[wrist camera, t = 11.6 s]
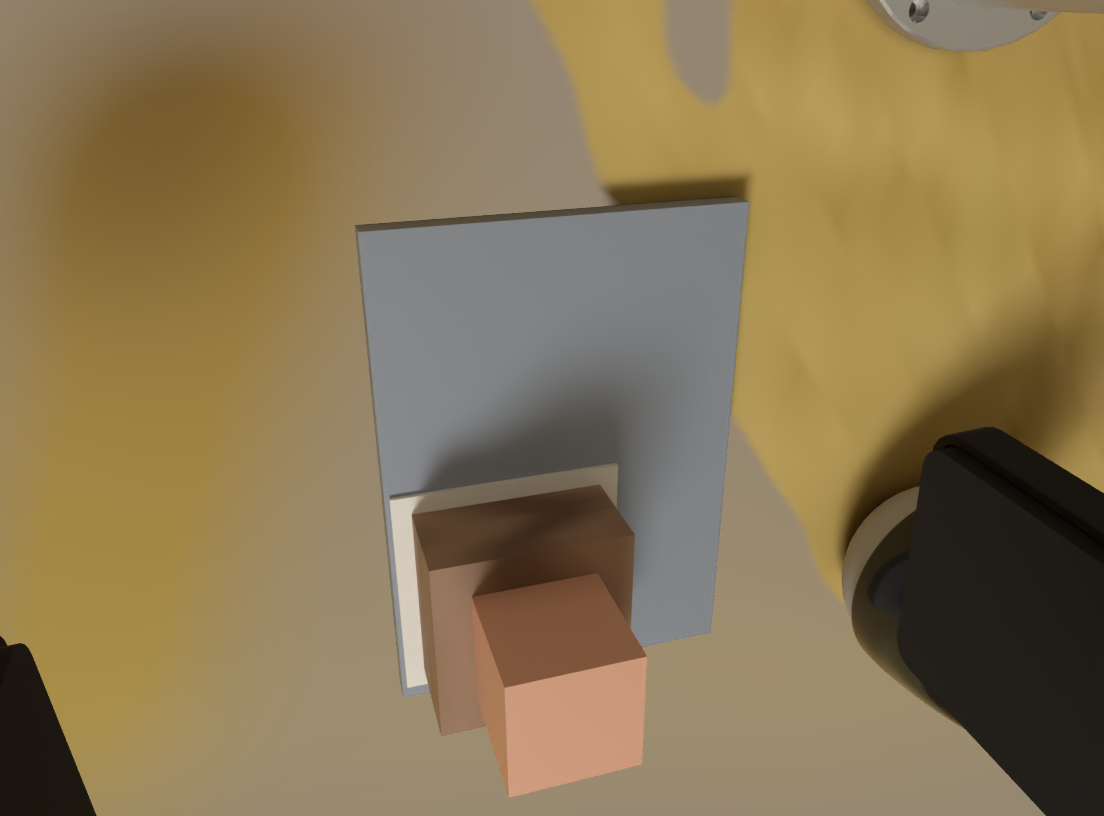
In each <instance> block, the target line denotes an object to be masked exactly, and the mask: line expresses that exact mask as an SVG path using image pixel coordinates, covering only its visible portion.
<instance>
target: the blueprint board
mask: <svg viewBox="0 0 1104 816" xmlns="http://www.w3.org/2000/svg"><path fill="white" fill-rule="evenodd" d="M748 211H749V201H746V200H744V199H742V198H740V197H723V198H710V199H697V200H684V201H670V202H657V203H644V204H631V205H617V206H604V207H591V208H578V209H565V210H552V211H538V212H525V213H512V214H498V215H485V216H473V217H459V218H446V219H432V220H419V221H405V222H392V223H379V224H366V225H355V232H356V242H357V251H358V260H359V261H358V262H359V272H360V282H361V292H362V302H363V312H364V322H365V332H366V343H367V352H368V362H369V373H370V382H371V393H372V403H373V413H374V423H375V433H376V443H377V453H378V464H379V473H380V484H381V493H382V504H383V514H384V524H385V534H386V544H387V554H388V564H389V574H390V583H391V584H390V585H391V595H392V604H393V615H394V625H395V634H396V645H397V654H398V665H399V674H400V683H401V689H402V693H403V698H406V697H410V696H415V695H420V694H425V693H429V692H430V690H429V686H428V682H427V678H426V674H425V670H424V658H423V647H422V635H421V623H420V611H419V599H418V587H417V575H416V563H415V551H414V539H413V527H412V515H413V514H419V513H425V512H432V511H438V510H444V509H450V508H456V507H463V506H469V505H475V504H481V503H488V502H494V501H500V500H506V499H512V498H519V497H525V496H531V495H537V494H544V493H550V492H556V491H562V490H568V489H575V488H581V487H587V486H593V485H601V487H602V488H603V490H604V491H605V493H606V494H607V495H608V497H609V498H610V500H611V501H612V503H613V504H614V505H615V507H616V508H617V510H618V511H619V513H620V514H621V515H622V517H623V518H624V520H625V521H626V523H627V524H628V526H629V527H630V528H631V530H632V531H633V533H634V534H635V544H634V568H633V592H632V616H631V630H632V632H633V634H634V635H635V637H636V639H637V640H638V642H639V644H640V645H641V647H645V646H649V645H654V644H659V643H664V642H668V641H673V640H677V639H682V638H687V637H692V636H696V635H701V634H706V633H710V632H711V624H712V613H713V602H714V601H713V600H714V589H715V579H716V568H717V556H718V546H719V535H720V524H721V512H722V501H723V490H724V479H725V467H726V456H727V445H728V434H729V423H730V412H731V401H732V390H733V378H734V367H735V356H736V345H737V334H738V323H739V312H740V300H741V289H742V278H743V267H744V256H745V245H746V233H747V222H748Z"/></svg>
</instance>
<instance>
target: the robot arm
mask: <svg viewBox="0 0 1104 816" xmlns="http://www.w3.org/2000/svg"><path fill="white" fill-rule="evenodd" d="M867 2H868V4H869V5H870V6H871V7H872V9H873V10H874V11H875V12H876V13H877V14H878V15H879V17H880V18H881V19H882V20H883V21H884V22H885V23H886V24H887V25H888V26H889V27H891V28H892V29H893V30H895V31H896V32H898V33H899V34H901V35H902V36H904V37H905V38H906V39H908V40H910V41H913V42H916V43H918V44H921V45H924V46H927V47H929V48H932V49H941V50H948V51H956V52H970V51H986V50H990V49H993V48H997V47H1001V46H1005V45H1008V44H1011V43H1013V42H1015V41H1017V40H1019V39H1021V38H1023V37H1025V36H1027V35H1029V34H1031V33H1033V32H1035V31H1037V30H1038V29H1039V28H1041V27H1042V26H1043V25H1045V24H1046V23H1047V22H1049V21H1050V20H1051V19H1053V18H1054V17H1056V16H1057V15H1058V14H1060V13H1061V12H1072V13H1096V14H1104V0H867ZM897 644H898V649H899V652H900V655H901V657H902V659H903V661H904V663H905V664H906V666H907V667H908V668H909V669H910V671H911V672H912V673H913V674H914V675H915V676H916V677H917V678H918V679H919V680H920V681H921V682H922V683H923V684H924V686H925V687H926V688H927V689H928V690H929V691H930V692H931V693H932V694H933V695H934V696H935V697H936V698H937V699H938V701H939V702H940V703H941V704H942V705H943V706H944V707H945V708H946V709H947V710H948V711H949V712H950V713H951V714H952V715H953V717H954V718H955V719H956V720H957V721H958V722H959V723H960V724H961V725H962V726H963V727H964V728H965V729H966V730H967V732H968V733H969V734H970V735H971V736H972V737H973V738H974V739H975V740H976V741H977V742H978V743H979V744H980V745H981V747H982V748H983V749H984V750H985V751H986V752H987V753H988V754H989V755H990V756H991V757H992V758H993V759H994V760H995V761H996V763H997V764H998V765H999V766H1000V767H1001V768H1002V769H1003V770H1004V771H1005V772H1006V773H1007V774H1008V775H1009V776H1010V777H1011V779H1012V780H1013V781H1014V782H1015V783H1016V784H1017V785H1018V786H1019V787H1020V788H1021V789H1022V790H1023V791H1024V793H1026V795H1027V796H1028V797H1029V798H1030V799H1031V800H1032V801H1033V802H1034V803H1035V804H1036V805H1037V806H1038V808H1039V809H1040V810H1041V811H1042V812H1043V813H1044V814H1045V815H1046V816H1104V493H1102V492H1101V491H1099V490H1097V489H1096V488H1094V487H1092V486H1091V485H1089V484H1088V483H1086V482H1084V481H1083V480H1081V479H1080V478H1078V477H1076V476H1075V475H1073V474H1071V473H1070V472H1068V471H1067V470H1065V469H1063V468H1062V467H1060V466H1058V465H1057V464H1055V463H1054V462H1052V461H1050V460H1049V459H1047V458H1045V457H1044V456H1042V455H1041V454H1039V453H1037V452H1036V451H1034V450H1032V449H1031V448H1029V447H1028V446H1026V445H1024V444H1023V443H1021V442H1019V441H1018V440H1016V439H1015V438H1013V437H1011V436H1010V435H1008V434H1006V433H1005V432H1003V431H1002V430H999V429H997V428H994V427H984V428H979V429H974V430H969V431H965V432H960V433H955V434H950V435H945V436H944V437H942V438H940V439H939V440H938V441H937V442H936V444H935V445H934V448H933V451H932V452H930V453H928V455H927V456H926V457H925V459H924V463H923V467H922V474H921V480H920V487H919V493H918V500H917V506H916V513H915V520H914V526H913V533H912V539H911V546H910V553H909V559H908V566H907V572H906V579H905V586H904V592H903V599H902V605H901V612H900V619H899V625H898V632H897ZM0 816H96V813H95V811H94V808H93V806H92V803H91V801H90V799H89V796H88V793H87V791H86V788H85V786H84V784H83V781H82V779H81V776H80V773H79V771H78V769H77V766H76V763H75V761H74V758H73V756H72V753H71V751H70V749H69V746H68V743H67V741H66V738H65V736H64V734H63V731H62V729H61V726H60V724H59V721H58V719H57V716H56V714H55V711H54V709H53V706H52V704H51V701H50V699H49V696H48V694H47V691H46V689H45V686H44V684H43V681H42V679H41V676H40V674H39V671H38V669H37V666H36V664H35V661H34V659H33V656H32V654H31V652H30V650H29V649H28V647H27V646H26V645H25V644H21V643H19V644H14V645H9V646H7V644H6V642H5V640H4V639H3V638H2V637H1V636H0Z"/></svg>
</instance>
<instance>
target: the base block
mask: <svg viewBox="0 0 1104 816" xmlns="http://www.w3.org/2000/svg"><path fill="white" fill-rule="evenodd" d="M412 527H413V539H414V551H415V563H416V575H417V587H418V599H419V611H420V623H421V635H422V647H423V658H424V670H425V674H426V678H427V682H428V686H429V690H430V694H431V697H432V701H433V705H434V709H435V713H436V717H437V721H438V724H439V728H440V732H441V736H445V735H449V734H453V733H458V732H462V731H466V730H471V729H475V728H479V727H484V726H486V725H485V722H484V719H483V715H482V712H481V709H480V706H479V703H478V700H477V684H476V667H475V649H474V632H473V614H472V597H475V596H480V595H486V594H491V593H496V592H501V591H507V590H512V589H517V588H522V587H527V586H533V585H538V584H543V583H548V582H554V581H559V580H564V579H569V578H575V577H580V576H585V575H590V574H596V573H598V574H599V576H600V578H601V579H602V581H603V583H604V584H605V586H606V588H607V590H608V591H609V593H610V595H611V596H612V598H613V600H614V601H615V603H616V605H617V607H618V608H619V610H620V612H621V613H622V615H623V617H624V618H625V620H626V622H627V623H628V625H629V627H630V629H631V616H632V592H633V568H634V544H635V534H634V533H633V531H632V530H631V528H630V527H629V526H628V524H627V523H626V521H625V520H624V518H623V517H622V515H621V514H620V513H619V511H618V510H617V508H616V507H615V505H614V504H613V503H612V501H611V500H610V498H609V497H608V495H607V494H606V493H605V491H604V490H603V488H602V487H601V485H593V486H587V487H581V488H575V489H568V490H562V491H556V492H550V493H544V494H537V495H531V496H525V497H519V498H512V499H506V500H500V501H494V502H488V503H481V504H475V505H469V506H463V507H456V508H450V509H444V510H438V511H432V512H425V513H419V514H413V515H412Z"/></svg>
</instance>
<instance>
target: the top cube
mask: <svg viewBox="0 0 1104 816" xmlns="http://www.w3.org/2000/svg"><path fill="white" fill-rule="evenodd" d="M472 614H473V632H474V649H475V667H476V684H477V700H478V703H479V706H480V709H481V712H482V715H483V719H484V722H485V725H486V728H487V731H488V734H489V737H490V740H491V743H492V747H493V750H494V753H495V756H496V759H497V762H498V765H499V769H500V771H501V775H502V778H503V781H504V784H505V787H506V790H507V794H508V796H509V798H510V797H514V796H518V795H522V794H526V793H530V792H534V791H538V790H542V789H546V788H550V787H553V786H558V785H561V784H565V783H569V782H573V781H577V780H581V779H585V778H589V777H593V776H597V775H601V774H605V773H609V772H613V771H617V770H621V769H625V768H629V767H632V766H637V765H641V764H642V752H643V731H644V709H645V688H646V669H647V656H646V654H645V652H644V651H643V649H642V647H641V645H640V644H639V642H638V640H637V639H636V637H635V635H634V634H633V632H632V630H631V629H630V627H629V625H628V623H627V622H626V620H625V618H624V617H623V615H622V613H621V612H620V610H619V608H618V607H617V605H616V603H615V601H614V600H613V598H612V596H611V595H610V593H609V591H608V590H607V588H606V586H605V584H604V583H603V581H602V579H601V578H600V576H599V574H598V573H596V574H590V575H585V576H580V577H575V578H569V579H564V580H559V581H554V582H548V583H543V584H538V585H533V586H527V587H522V588H517V589H512V590H507V591H501V592H496V593H491V594H486V595H480V596H475V597H472Z"/></svg>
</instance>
